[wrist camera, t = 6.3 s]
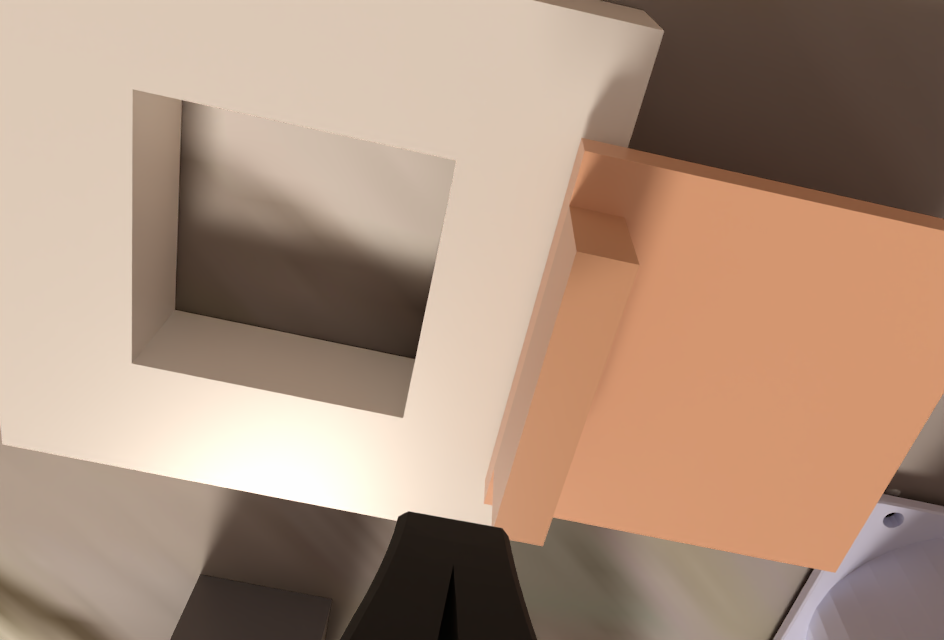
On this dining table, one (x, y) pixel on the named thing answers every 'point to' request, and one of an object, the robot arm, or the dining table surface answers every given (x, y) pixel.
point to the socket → (264, 350)
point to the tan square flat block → (719, 361)
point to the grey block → (250, 613)
